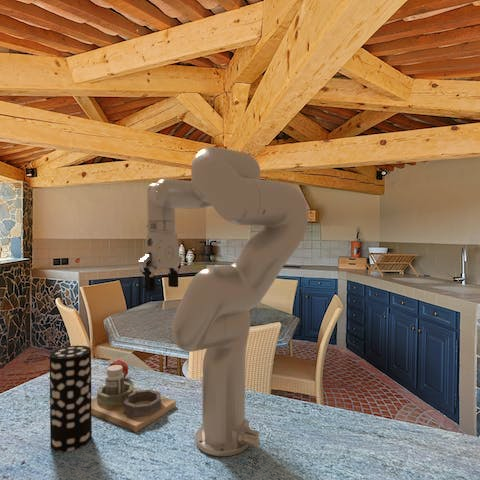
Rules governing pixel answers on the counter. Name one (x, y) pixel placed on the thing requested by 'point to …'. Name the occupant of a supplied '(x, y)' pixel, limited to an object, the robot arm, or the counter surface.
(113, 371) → the pill bottle
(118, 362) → the decorative stone
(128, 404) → the socket board
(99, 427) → the counter surface
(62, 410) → the spotted tube
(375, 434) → the counter surface
